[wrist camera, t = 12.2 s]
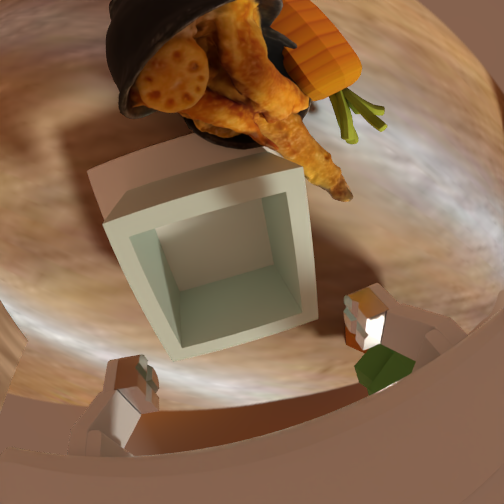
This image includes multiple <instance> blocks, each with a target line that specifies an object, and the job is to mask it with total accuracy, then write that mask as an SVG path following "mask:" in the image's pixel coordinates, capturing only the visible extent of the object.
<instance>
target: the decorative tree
mask: <svg viewBox="0 0 504 504" xmlns="http://www.w3.org/2000/svg"><path fill="white" fill-rule="evenodd" d="M345 332H346V345H348V346H350V347H352V348H354V349H356V350H359V351H361V352H363V353H365V354H364V355H363V356H362V358H361V359H360V360H359V361H358V362H357V364H356V365H355V366H354V367H355V370H356V373H357V377H358V380H359V383H361V384H362V385H364V386H365V387H366V388H367V390H368V394H369V396H370V395H372V394H374V393H376V392H378V391H380V390H382V389H384V388H386V387H388V386H389V385H391V384H393V383H395V382H397V381H399V380H401V379H402V378H404V377H406V376H408V375H409V374H411V373H412V370H413V368H414V365H415V363H416V361H414V360H412V359H410V358H408V357H406V356H404V355H402V354H400V353H398V352H396V351H394V350H392V349H390V348H388V347H386V346H384V345H382V344H381V343H380V344H378V345H375V346H373V347H371V348H368V349H366V350H364V351H363V350H362V348H361V347H360V345H359V344H358V343H357V341H356V340H355V339H356V334H353V333H351V332H350V331H349V330H348V328H347V326H345Z"/></svg>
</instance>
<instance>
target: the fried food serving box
mask: <svg viewBox="0 0 504 504" xmlns="http://www.w3.org/2000/svg"><path fill="white" fill-rule="evenodd" d="M27 342H28V340H27V339H26V338H25V336H24V335H23V334H22V332H21V331H20V330H19V328H18V327H17V325H16V324H15V322H14V321H13V320H12V318H11V317H10V315H9V314H8V312H7V310H6V309H5V307H4V306H3V304H2V303H1V301H0V413H1V409H2V406H3V403H4V400H5V397H6V394H7V391H8V389H9V386H10V383H11V380H12V378H13V375H14V372H15V370H16V367H17V365H18V363H19V360H20V358H21V355H22V353H23V351H24V349H25V346H26V344H27Z"/></svg>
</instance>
